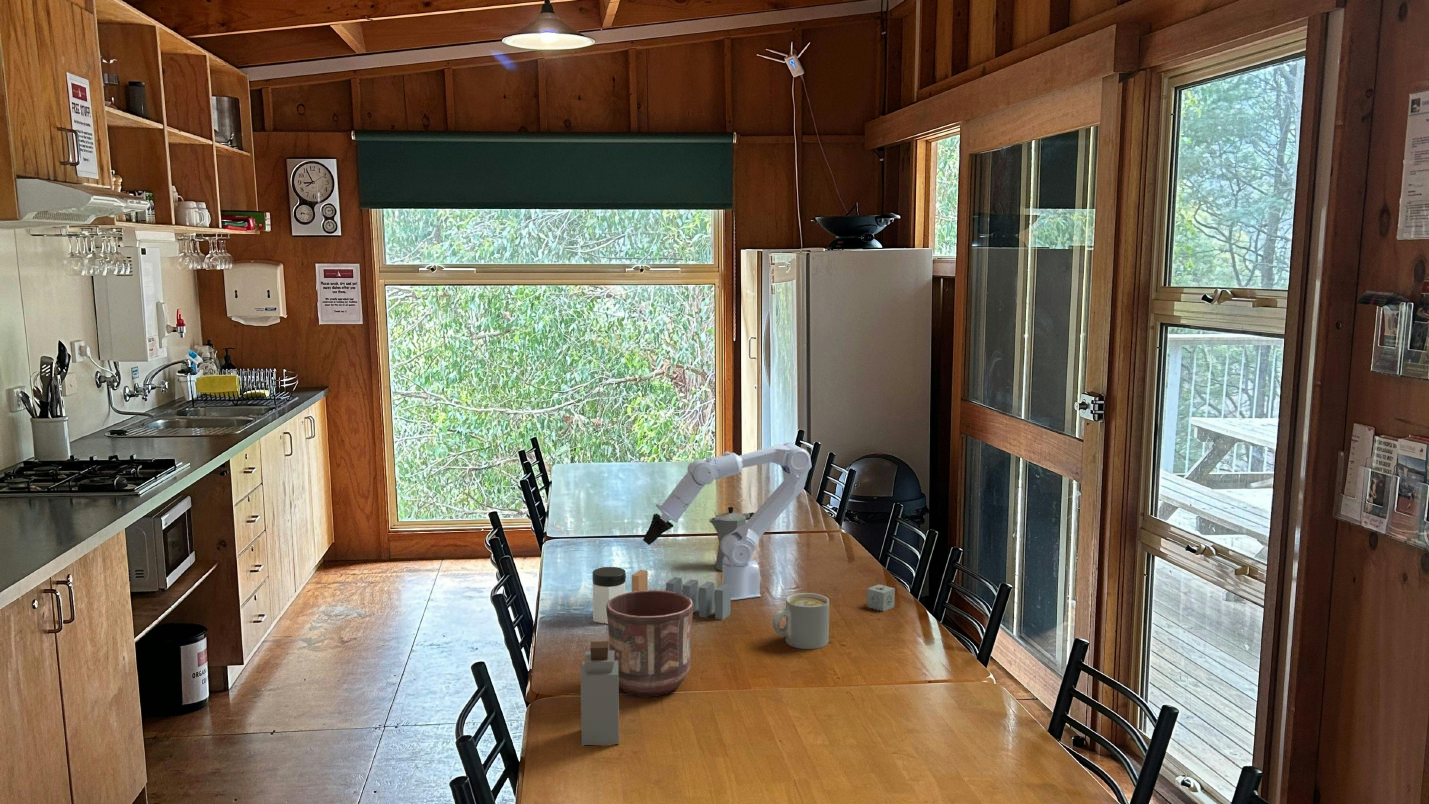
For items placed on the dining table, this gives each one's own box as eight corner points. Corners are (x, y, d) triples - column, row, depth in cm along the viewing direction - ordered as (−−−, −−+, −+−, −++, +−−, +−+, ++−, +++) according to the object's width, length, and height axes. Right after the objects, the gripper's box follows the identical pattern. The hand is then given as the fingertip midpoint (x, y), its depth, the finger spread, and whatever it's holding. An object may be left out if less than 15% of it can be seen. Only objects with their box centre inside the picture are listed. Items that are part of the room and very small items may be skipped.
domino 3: (682, 613, 260) (682, 585, 259) (690, 607, 264) (690, 579, 263) (689, 615, 259) (689, 586, 258) (698, 608, 263) (698, 580, 262)
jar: (601, 626, 250) (600, 578, 249) (585, 617, 257) (585, 570, 255) (633, 619, 255) (633, 572, 254) (617, 610, 262) (617, 564, 260)
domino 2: (666, 611, 261) (666, 582, 260) (674, 605, 266) (674, 577, 265) (673, 612, 261) (673, 583, 260) (681, 606, 265) (681, 578, 264)
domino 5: (715, 618, 256) (715, 589, 255) (723, 612, 261) (723, 583, 260) (722, 620, 255) (722, 590, 254) (730, 613, 260) (730, 584, 259)
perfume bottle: (583, 729, 196) (581, 638, 194) (619, 728, 197) (618, 637, 194) (581, 746, 190) (580, 652, 187) (618, 744, 190) (617, 651, 188)
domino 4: (699, 616, 258) (698, 587, 257) (707, 610, 262) (707, 581, 261) (706, 617, 257) (706, 588, 256) (714, 611, 262) (714, 582, 261)
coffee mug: (822, 632, 247) (823, 592, 246) (833, 648, 237) (834, 605, 236) (767, 635, 245) (767, 594, 244) (776, 651, 235) (776, 608, 234)
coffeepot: (715, 575, 291) (715, 512, 289) (703, 565, 300) (703, 505, 297) (765, 568, 297) (765, 507, 295) (751, 559, 306) (751, 500, 303)
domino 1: (632, 603, 268) (631, 575, 267) (640, 597, 272) (640, 569, 271) (638, 604, 267) (638, 575, 266) (647, 598, 271) (647, 570, 270)
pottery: (660, 710, 204) (660, 622, 202) (590, 690, 214) (589, 606, 211) (708, 680, 219) (709, 598, 217) (641, 663, 228) (641, 584, 226)
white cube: (866, 607, 265) (867, 588, 264) (878, 602, 269) (878, 584, 268) (883, 612, 262) (883, 593, 261) (894, 607, 265) (894, 588, 264)
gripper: (669, 489, 274) (637, 530, 273) (665, 490, 259) (632, 533, 259) (690, 506, 273) (658, 547, 273) (688, 507, 259) (654, 550, 258)
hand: (647, 541), depth 266 cm, fingers open, 7 cm apart
